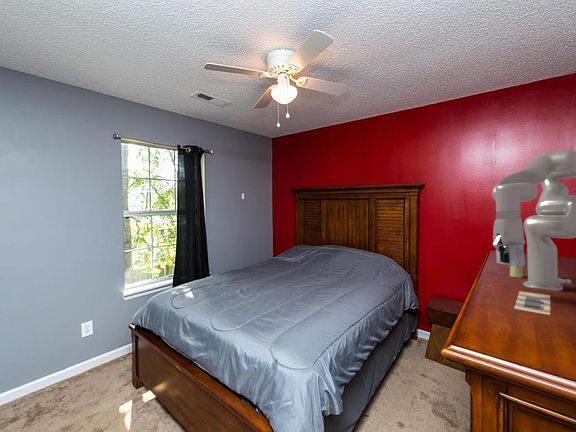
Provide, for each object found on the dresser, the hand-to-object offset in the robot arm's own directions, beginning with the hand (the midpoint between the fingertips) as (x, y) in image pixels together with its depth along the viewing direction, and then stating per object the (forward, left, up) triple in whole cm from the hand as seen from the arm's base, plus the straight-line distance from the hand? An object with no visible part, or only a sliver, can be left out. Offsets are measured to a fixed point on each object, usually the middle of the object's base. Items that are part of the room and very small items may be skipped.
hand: (510, 261), depth 108 cm
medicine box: (0, 0, -2) cm, 2 cm away
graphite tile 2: (-3, +8, -13) cm, 16 cm away
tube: (-20, -33, -15) cm, 42 cm away
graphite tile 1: (+1, +13, -13) cm, 19 cm away
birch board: (-3, +8, -15) cm, 17 cm away
